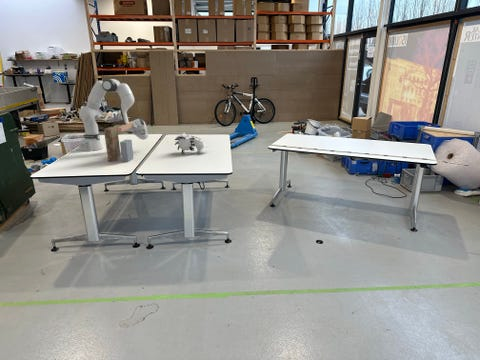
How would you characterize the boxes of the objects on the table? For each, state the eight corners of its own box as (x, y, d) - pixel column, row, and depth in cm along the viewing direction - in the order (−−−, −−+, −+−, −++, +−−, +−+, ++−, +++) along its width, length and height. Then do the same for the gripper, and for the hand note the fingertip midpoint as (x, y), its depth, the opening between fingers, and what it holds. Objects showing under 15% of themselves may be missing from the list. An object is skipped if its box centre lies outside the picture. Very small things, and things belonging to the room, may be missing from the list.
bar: (118, 131, 256) (117, 127, 255) (130, 126, 276) (130, 122, 275) (121, 131, 255) (121, 127, 254) (134, 126, 276) (133, 122, 275)
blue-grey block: (122, 161, 267) (119, 142, 261) (127, 158, 276) (125, 139, 271) (128, 162, 266) (125, 142, 261) (133, 158, 276) (131, 139, 270)
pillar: (108, 161, 268) (103, 129, 260) (114, 157, 278) (110, 126, 269) (115, 161, 268) (111, 129, 259) (121, 158, 277) (117, 127, 268)
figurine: (208, 157, 289) (173, 154, 285) (208, 153, 304) (174, 149, 301) (210, 139, 284) (174, 135, 280) (210, 135, 299) (176, 131, 295)
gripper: (126, 126, 288) (118, 121, 274) (148, 127, 285) (142, 121, 272) (125, 133, 286) (117, 128, 273) (148, 134, 284) (141, 128, 270)
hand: (130, 124), depth 272 cm, fingers closed on bar, 3 cm apart
